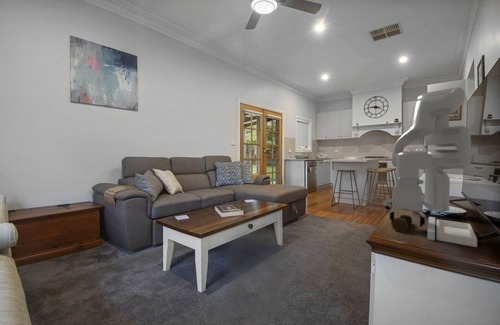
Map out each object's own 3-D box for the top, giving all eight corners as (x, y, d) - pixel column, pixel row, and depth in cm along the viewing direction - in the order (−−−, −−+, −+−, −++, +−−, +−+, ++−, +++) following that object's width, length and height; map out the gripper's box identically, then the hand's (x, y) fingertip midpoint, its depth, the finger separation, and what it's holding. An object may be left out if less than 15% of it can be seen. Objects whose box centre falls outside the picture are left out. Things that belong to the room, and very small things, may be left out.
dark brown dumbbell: (409, 227, 98) (401, 235, 87) (397, 219, 101) (388, 226, 90) (418, 217, 96) (410, 224, 85) (405, 209, 99) (397, 215, 88)
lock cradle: (436, 225, 94) (436, 219, 94) (469, 230, 88) (470, 223, 87) (436, 239, 79) (436, 232, 79) (476, 247, 72) (477, 239, 72)
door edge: (428, 223, 96) (429, 216, 96) (434, 224, 95) (435, 217, 95) (427, 239, 80) (427, 230, 79) (434, 240, 78) (434, 232, 78)
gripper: (434, 183, 89) (433, 225, 90) (384, 180, 100) (383, 218, 101) (434, 185, 83) (433, 230, 84) (381, 181, 94) (380, 222, 95)
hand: (406, 223), depth 92 cm, fingers open, 9 cm apart
